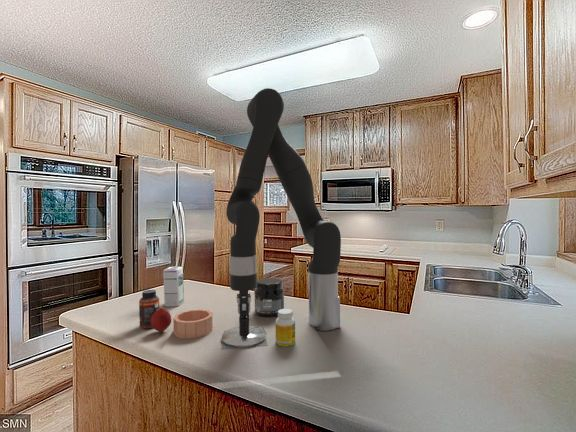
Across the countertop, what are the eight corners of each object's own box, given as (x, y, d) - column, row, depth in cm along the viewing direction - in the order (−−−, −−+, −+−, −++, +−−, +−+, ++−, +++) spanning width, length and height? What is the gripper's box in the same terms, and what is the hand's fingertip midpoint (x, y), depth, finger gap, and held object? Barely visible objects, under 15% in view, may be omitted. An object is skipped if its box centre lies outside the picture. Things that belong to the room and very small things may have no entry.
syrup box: (179, 306, 118) (178, 269, 117) (163, 306, 118) (163, 269, 117) (184, 301, 123) (183, 266, 123) (169, 302, 123) (168, 266, 123)
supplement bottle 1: (163, 325, 98) (162, 290, 98) (144, 331, 94) (143, 294, 94) (155, 321, 102) (154, 287, 102) (136, 326, 98) (135, 291, 98)
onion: (165, 326, 97) (165, 302, 97) (175, 331, 94) (174, 305, 93) (147, 332, 93) (146, 306, 92) (157, 337, 89) (156, 310, 89)
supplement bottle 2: (276, 341, 86) (275, 307, 85) (295, 341, 86) (294, 307, 85) (275, 350, 80) (274, 314, 80) (295, 350, 80) (295, 314, 80)
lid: (264, 327, 93) (264, 308, 93) (268, 345, 81) (268, 323, 81) (223, 330, 91) (223, 310, 91) (220, 349, 79) (220, 326, 79)
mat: (264, 331, 93) (264, 327, 93) (267, 349, 81) (267, 345, 81) (224, 334, 91) (223, 330, 91) (221, 352, 79) (221, 349, 79)
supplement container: (274, 307, 115) (274, 276, 114) (290, 316, 106) (289, 281, 105) (249, 313, 109) (248, 280, 108) (263, 322, 100) (263, 286, 100)
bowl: (214, 325, 98) (213, 308, 98) (210, 339, 87) (210, 320, 87) (178, 327, 96) (178, 310, 96) (170, 343, 85) (170, 323, 85)
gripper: (258, 276, 79) (259, 341, 80) (255, 266, 93) (256, 321, 94) (228, 277, 78) (230, 344, 78) (230, 267, 92) (231, 323, 92)
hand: (244, 331), depth 86 cm, fingers open, 3 cm apart
